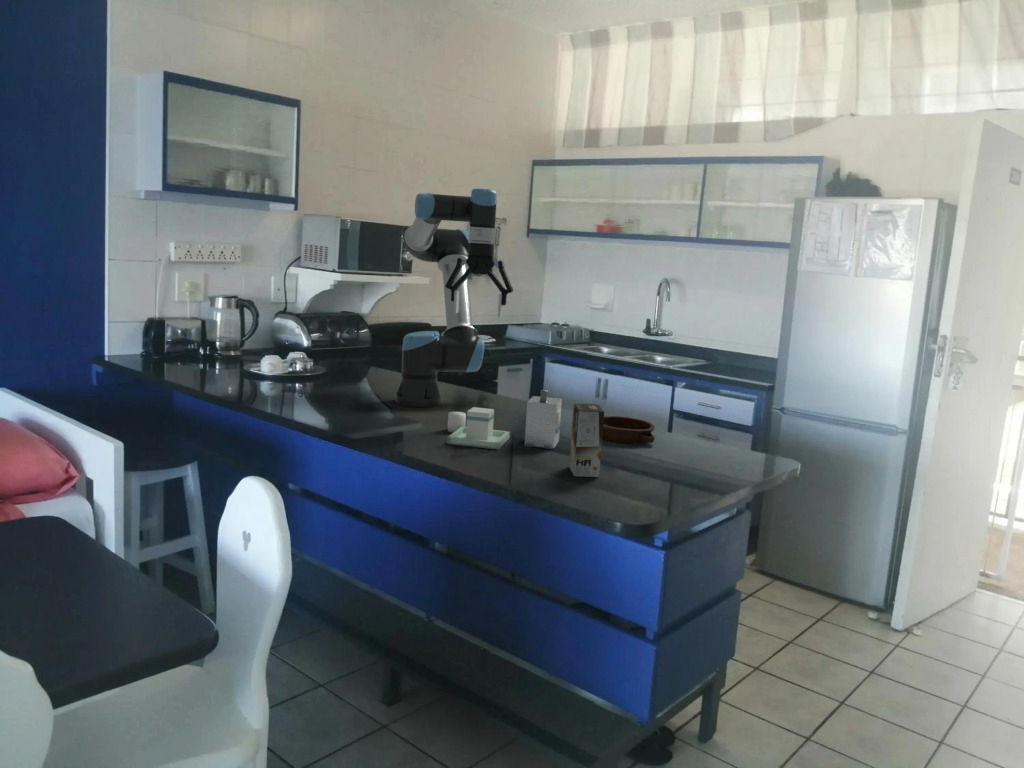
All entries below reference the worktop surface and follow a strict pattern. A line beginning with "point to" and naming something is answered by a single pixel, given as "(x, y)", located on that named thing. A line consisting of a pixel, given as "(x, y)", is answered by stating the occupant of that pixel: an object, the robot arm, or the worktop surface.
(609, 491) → the worktop surface
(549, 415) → the box
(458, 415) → the cream knob
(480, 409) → the block
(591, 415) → the coffee box
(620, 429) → the dish
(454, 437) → the tray
